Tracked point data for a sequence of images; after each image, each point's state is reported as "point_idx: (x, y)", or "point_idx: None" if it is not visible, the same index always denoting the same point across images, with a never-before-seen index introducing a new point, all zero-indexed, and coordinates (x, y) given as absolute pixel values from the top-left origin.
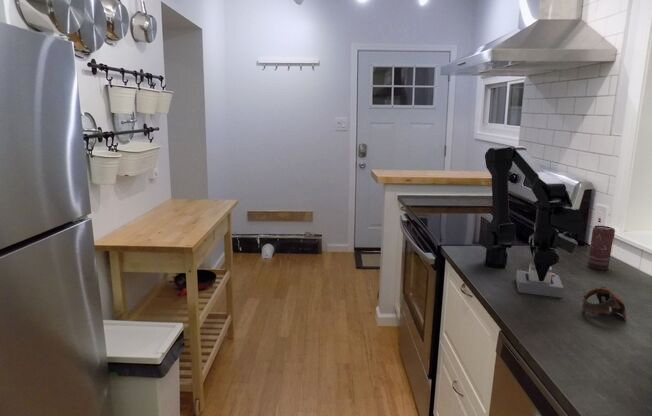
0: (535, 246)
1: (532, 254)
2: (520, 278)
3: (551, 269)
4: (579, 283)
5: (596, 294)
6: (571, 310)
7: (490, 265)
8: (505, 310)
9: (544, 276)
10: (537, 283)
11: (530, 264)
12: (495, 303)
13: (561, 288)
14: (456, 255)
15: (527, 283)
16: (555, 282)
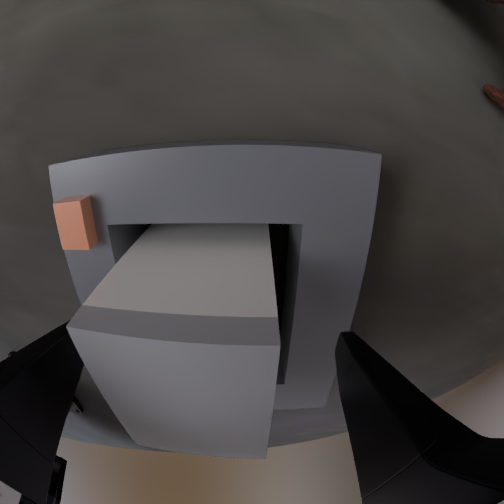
0: (10, 492)
1: (52, 454)
2: None
3: (271, 353)
4: (40, 40)
5: (497, 2)
6: (488, 150)
7: (75, 403)
8: (465, 371)
9: (382, 364)
10: (323, 339)
11: (189, 453)
12: None
13: (377, 171)
14: (66, 432)
15: (333, 380)
16: (250, 203)
